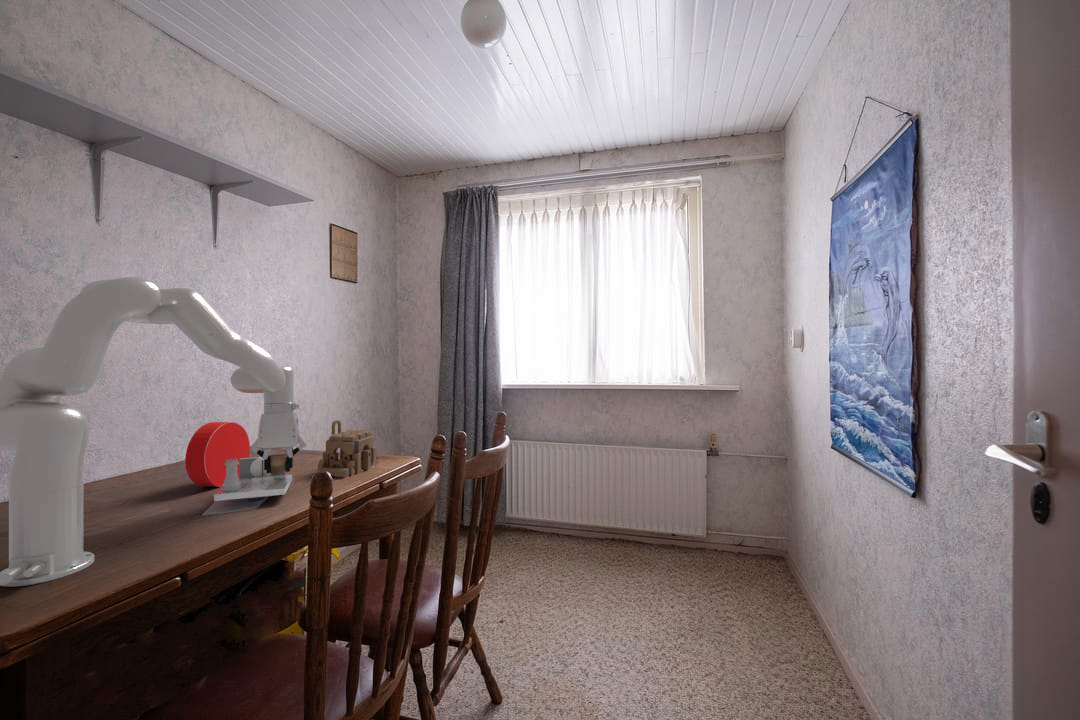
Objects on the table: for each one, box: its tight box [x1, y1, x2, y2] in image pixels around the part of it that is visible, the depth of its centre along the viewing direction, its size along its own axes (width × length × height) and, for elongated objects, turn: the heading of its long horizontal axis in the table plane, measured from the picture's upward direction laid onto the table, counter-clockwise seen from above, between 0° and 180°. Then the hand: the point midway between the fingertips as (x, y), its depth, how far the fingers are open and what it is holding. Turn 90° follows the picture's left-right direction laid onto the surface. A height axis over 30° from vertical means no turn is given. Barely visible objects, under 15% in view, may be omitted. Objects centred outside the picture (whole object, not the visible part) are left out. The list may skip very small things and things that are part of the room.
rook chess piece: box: [221, 459, 242, 492], centre depth 123 cm, size 4×4×8 cm
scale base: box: [201, 456, 287, 517], centre depth 129 cm, size 21×20×11 cm
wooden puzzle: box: [317, 419, 379, 478], centre depth 161 cm, size 22×15×19 cm, turn 172°
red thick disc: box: [184, 421, 251, 488], centre depth 145 cm, size 20×6×20 cm, turn 178°
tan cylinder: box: [269, 453, 288, 474], centre depth 134 cm, size 4×4×5 cm
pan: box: [213, 474, 293, 502], centre depth 128 cm, size 16×16×4 cm
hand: (278, 470), depth 134 cm, fingers closed on tan cylinder, 4 cm apart
